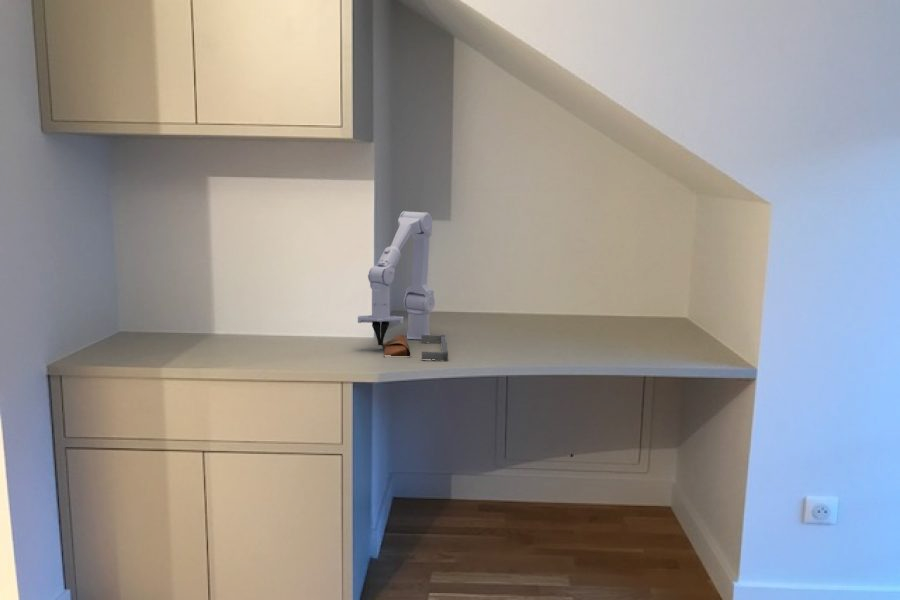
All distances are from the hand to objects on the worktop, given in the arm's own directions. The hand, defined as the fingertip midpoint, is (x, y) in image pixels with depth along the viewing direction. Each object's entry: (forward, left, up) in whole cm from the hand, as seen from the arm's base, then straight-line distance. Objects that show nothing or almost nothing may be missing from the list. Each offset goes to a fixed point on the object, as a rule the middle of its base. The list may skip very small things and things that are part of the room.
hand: (380, 344), depth 228 cm
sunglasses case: (0, +5, -3) cm, 5 cm away
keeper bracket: (0, +17, -2) cm, 17 cm away
